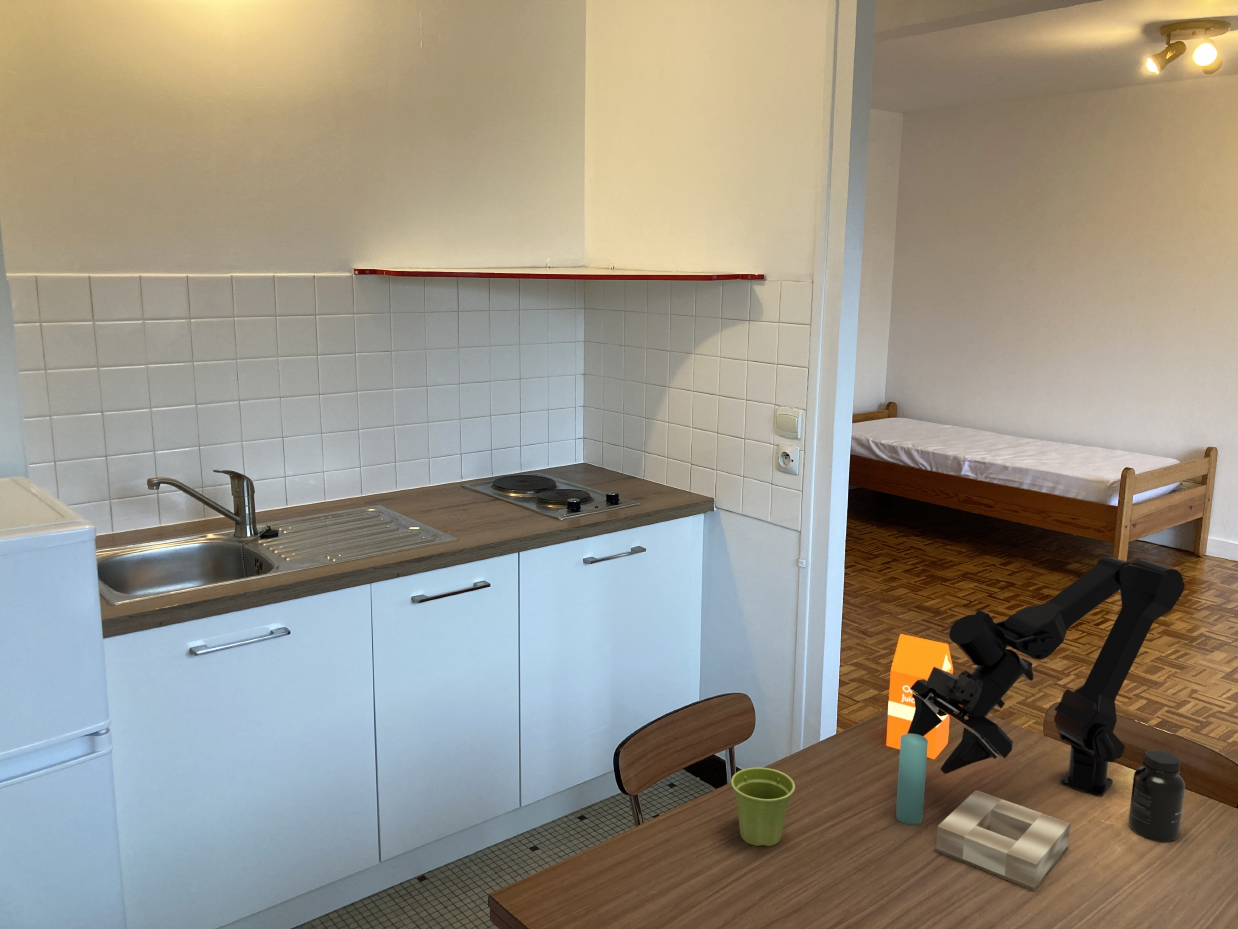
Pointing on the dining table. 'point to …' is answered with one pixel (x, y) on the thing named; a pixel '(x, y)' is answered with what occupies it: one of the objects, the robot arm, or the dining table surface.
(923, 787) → the teal cylinder
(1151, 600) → the robot arm
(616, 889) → the dining table surface
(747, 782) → the plant pot
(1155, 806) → the supplement bottle
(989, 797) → the cream square wooden frame
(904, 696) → the orange juice
